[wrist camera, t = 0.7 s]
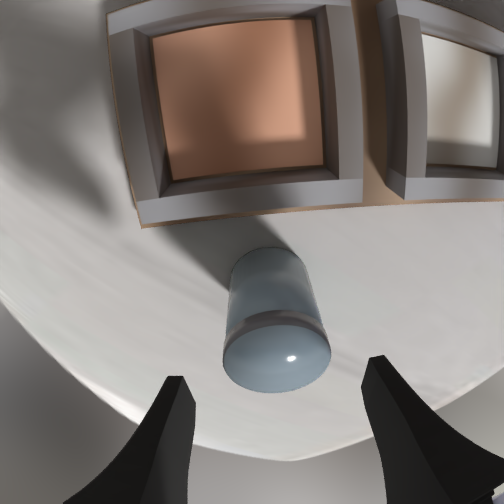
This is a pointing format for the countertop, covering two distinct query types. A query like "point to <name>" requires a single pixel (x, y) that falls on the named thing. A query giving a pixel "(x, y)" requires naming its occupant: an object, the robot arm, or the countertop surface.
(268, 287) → the grey plastic cylinder
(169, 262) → the countertop surface
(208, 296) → the countertop surface
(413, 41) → the caddy
